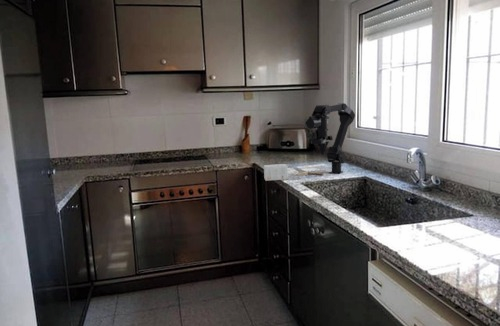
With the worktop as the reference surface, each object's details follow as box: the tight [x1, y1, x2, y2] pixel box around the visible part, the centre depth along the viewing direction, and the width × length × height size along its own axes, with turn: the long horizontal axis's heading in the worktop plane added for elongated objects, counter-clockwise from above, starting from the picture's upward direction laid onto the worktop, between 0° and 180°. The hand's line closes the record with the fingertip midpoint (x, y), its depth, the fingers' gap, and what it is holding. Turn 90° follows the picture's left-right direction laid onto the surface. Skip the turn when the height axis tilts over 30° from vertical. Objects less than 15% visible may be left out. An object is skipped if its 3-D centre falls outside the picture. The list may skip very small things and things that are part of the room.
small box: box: [263, 163, 289, 182], centre depth 214 cm, size 8×6×13 cm
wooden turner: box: [295, 171, 324, 176], centre depth 223 cm, size 6×16×1 cm, turn 58°
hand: (322, 154), depth 214 cm, fingers closed
